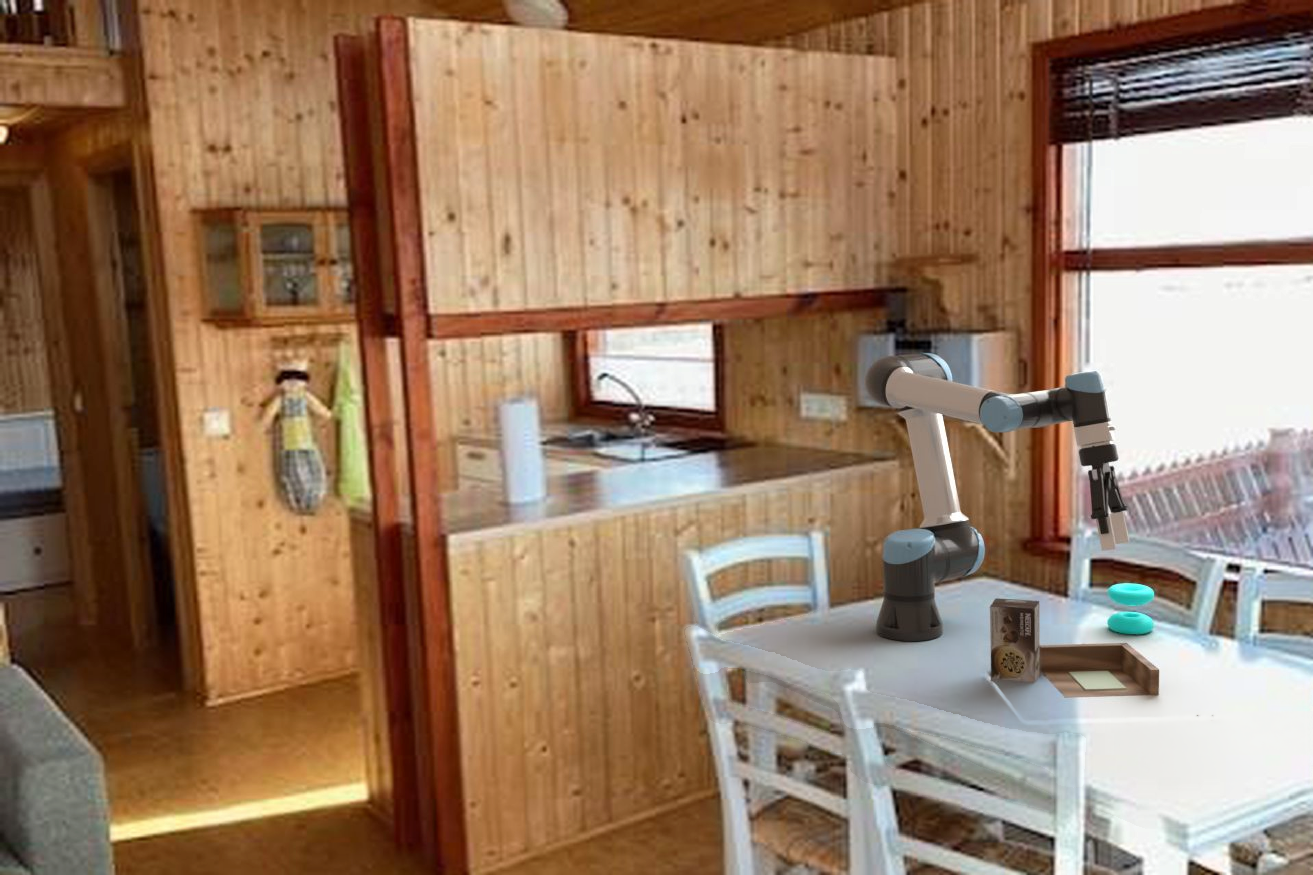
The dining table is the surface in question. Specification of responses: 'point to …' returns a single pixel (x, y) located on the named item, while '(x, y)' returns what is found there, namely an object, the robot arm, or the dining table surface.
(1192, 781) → the dining table surface
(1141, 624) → the donuts
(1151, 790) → the dining table surface
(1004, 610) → the coffee box
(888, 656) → the dining table surface
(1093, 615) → the dining table surface
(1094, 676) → the pad
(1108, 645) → the wooden corner tray
